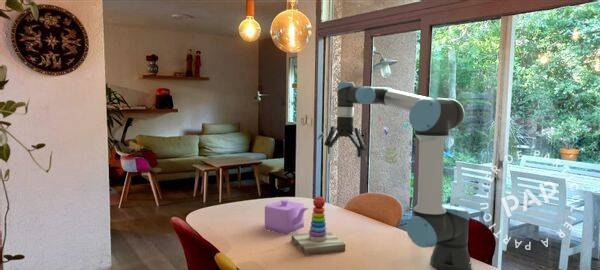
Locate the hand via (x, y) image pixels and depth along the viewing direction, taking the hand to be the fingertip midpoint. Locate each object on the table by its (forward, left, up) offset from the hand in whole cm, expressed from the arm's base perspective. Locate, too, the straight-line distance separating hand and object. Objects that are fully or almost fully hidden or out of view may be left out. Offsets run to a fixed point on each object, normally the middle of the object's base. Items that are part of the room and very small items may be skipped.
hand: (344, 162), depth 197 cm
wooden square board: (-9, +16, -35) cm, 39 cm away
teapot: (+18, +22, -35) cm, 45 cm away
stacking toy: (-9, +16, -32) cm, 37 cm away
